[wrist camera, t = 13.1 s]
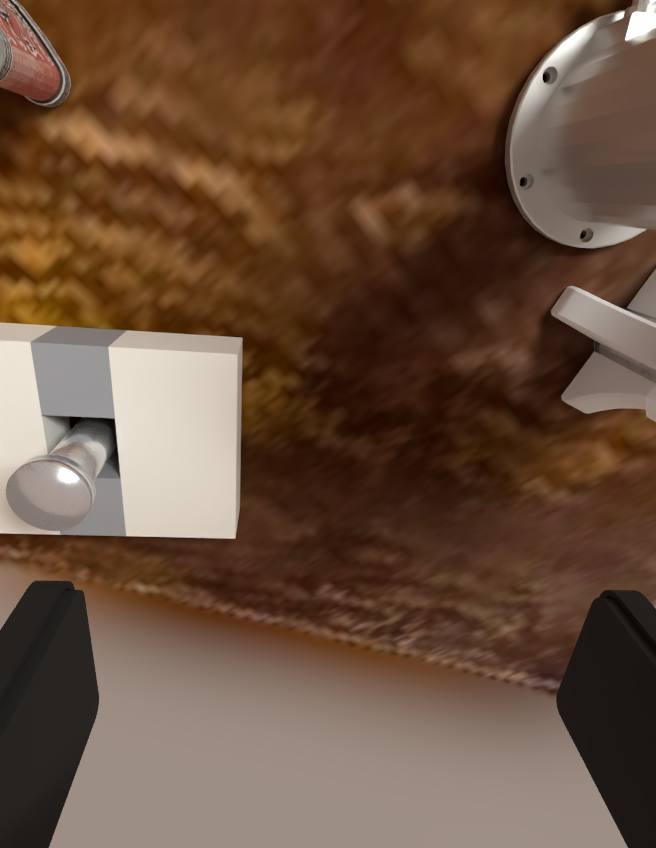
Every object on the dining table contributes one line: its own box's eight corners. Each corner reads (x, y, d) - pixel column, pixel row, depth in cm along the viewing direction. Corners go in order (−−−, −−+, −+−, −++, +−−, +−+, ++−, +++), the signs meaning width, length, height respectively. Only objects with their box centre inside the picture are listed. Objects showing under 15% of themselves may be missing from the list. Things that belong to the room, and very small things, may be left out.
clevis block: (-25, 500, 39) (-57, 532, 36) (-68, 318, 33) (-111, 333, 30) (239, 507, 41) (235, 538, 38) (242, 337, 36) (237, 354, 32)
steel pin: (71, 393, 36) (-1, 461, 27) (135, 396, 37) (85, 464, 28) (78, 449, 38) (13, 530, 29) (139, 451, 39) (93, 531, 29)
